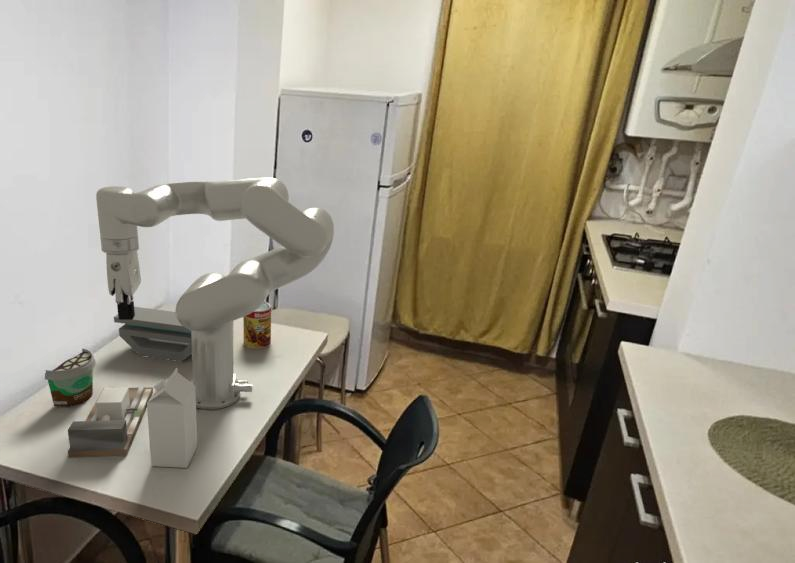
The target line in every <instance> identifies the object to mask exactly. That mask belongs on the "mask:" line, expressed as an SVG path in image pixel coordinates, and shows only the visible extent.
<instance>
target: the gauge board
mask: <svg viewBox="0 0 795 563" xmlns="http://www.w3.org/2000/svg"><path fill="white" fill-rule="evenodd" d="M108 388H115V386H109V387H108ZM128 388H129V399H130V408H138V410H135V411H128V412H127V414H126V417H125V419H124V420H111V417H110V416H109V415H104V416H103V417H102V419H101V420H100V421H98V416H97V407H96V402H97V400H98V399H99V397H100V395H101V393H102V391H103V390H104V388H102V391H101V392H100V394H99V396H98V398H97V399H96V401H95V403H94V404H93V406H92V408H91V410H90V412H89V414H88V415H87V417H86V419H85V420H82V421H81V420H79V421H78V420H77V421H75V420H73V421H72V422H71V424H70V426H69V427H68V428H67V434H68V442H69V443H68V444H69V448H68V449H67V457H68V458H86V457H88V458H89V457H116V456H118V457H119V456H120V457H121V456H122V457H123V456H128V454H129V452H130V449H131V447H132V445H133V441H134V439H135V438H136V435H137V433H138V430H139V428H140V425H141V423H142V420H143V418H144V416H145V413H146V411H147V409H146V408H147V402H148V401H149V399H150V398H151V396H152V395H153V394H154V386H153V387H152V386H151V387H149V386H148V387H145V386H144V385H141V386H139V387H128Z"/></svg>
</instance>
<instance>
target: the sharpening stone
mask: <svg viewBox="0 0 795 563" xmlns="http://www.w3.org/2000/svg"><path fill="white" fill-rule="evenodd" d="M134 311H135V316H134V318H133V319H132V320H120V319H119V318H118V314H116V315H115V316H113V322H114V323H117V324H123V325H121V326H120V327H119V328H118V335H119V337H120V338H121V339H122V340H123V341H124V342H125V343H126V344H127V345H128V346H129V347H131V349H133V351H134V352H135V353H137V355H139V356H140V357H142V356H148V357H147V358H149V357H154V358H153V359H157V358H161V359H160V360H164V359H169V360H168V361H171V360H176V361H175V362H179V361H181V362H183V361H184V360H186V359H187V358H188V357H189V356H192V349H191V330H189V329H187V328H185V327H184V326H182V325H181V324H180V322H179V321H178V319H177V316H176V311H172V310H170V311H169V310H164V309H163V310H162V309H155V308H147V307H141V306H140V307H139V306H134Z"/></svg>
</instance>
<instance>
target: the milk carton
mask: <svg viewBox="0 0 795 563" xmlns="http://www.w3.org/2000/svg"><path fill="white" fill-rule="evenodd" d="M153 389H155V391H153V394H152V396H151V398H150V399H149V401H148V402H147V409H146V411H147V425H148V427H147V428H148V437H149V439H148V440H149V450H150V451H149V452H150V463H151V464H150V465H151V467H161V468H162V467H163V468H164V467H165V468H178V469H179V468H180V469H181V468H183V469H187V468H188V466H190V462H191V461H192V459H193V457H194V455H195V452H196V451H197V448H198V432H197V431H198V430H197V429H198V427H197V408H196V396H195V386H194V385H193V382H191V381H189V380H188V379H187V378H185V377H184V376H183V375H182V374H180V373H179V372H178V367H176V368H175V369H174V371H173V372H172V373H171V375H170V376H169V377H168V378H167V379H165V380H164V379H160V380H158V381H157V382H156V383H155V384H154V385H153Z"/></svg>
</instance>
